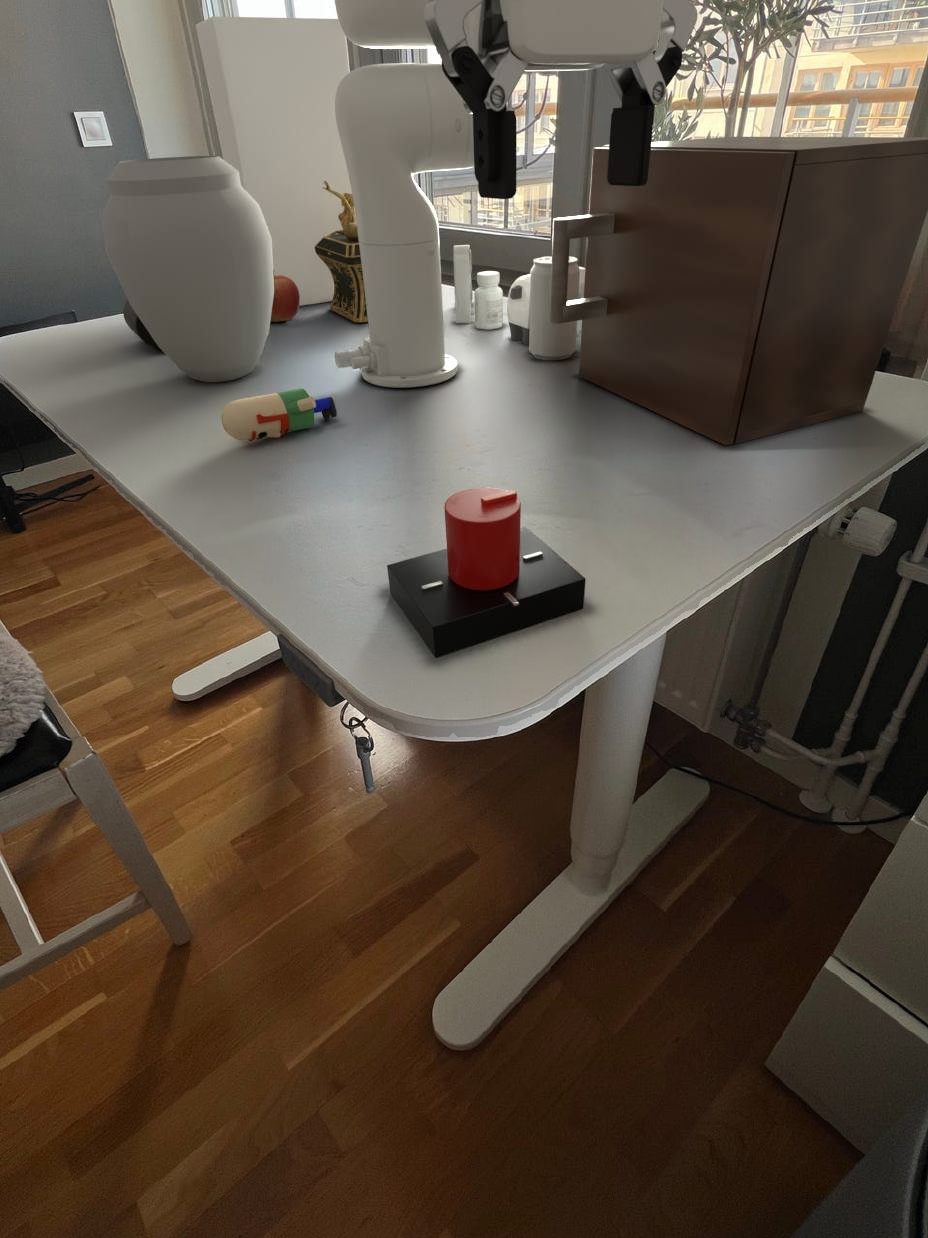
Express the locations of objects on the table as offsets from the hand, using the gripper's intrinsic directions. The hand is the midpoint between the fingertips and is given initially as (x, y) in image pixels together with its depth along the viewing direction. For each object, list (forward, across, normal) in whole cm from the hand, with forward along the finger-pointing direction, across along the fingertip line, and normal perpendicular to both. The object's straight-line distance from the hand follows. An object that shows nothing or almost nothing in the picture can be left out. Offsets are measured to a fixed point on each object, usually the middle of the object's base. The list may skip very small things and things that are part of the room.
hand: (564, 190), depth 41 cm
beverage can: (+22, -28, -40) cm, 54 cm away
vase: (+22, +13, -59) cm, 65 cm away
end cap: (+22, +17, -81) cm, 85 cm away
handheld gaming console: (+22, -31, -70) cm, 79 cm away
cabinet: (+23, -35, -16) cm, 45 cm away
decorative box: (+22, -17, -78) cm, 83 cm away
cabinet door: (+23, -22, -17) cm, 36 cm away
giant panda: (+22, -34, -48) cm, 63 cm away
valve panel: (+23, +10, +6) cm, 26 cm away
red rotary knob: (+21, +10, +6) cm, 24 cm away
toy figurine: (+23, +12, -33) cm, 42 cm away
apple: (+22, -3, -84) cm, 87 cm away
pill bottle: (+22, -29, -59) cm, 69 cm away
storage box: (+21, -14, -99) cm, 102 cm away
